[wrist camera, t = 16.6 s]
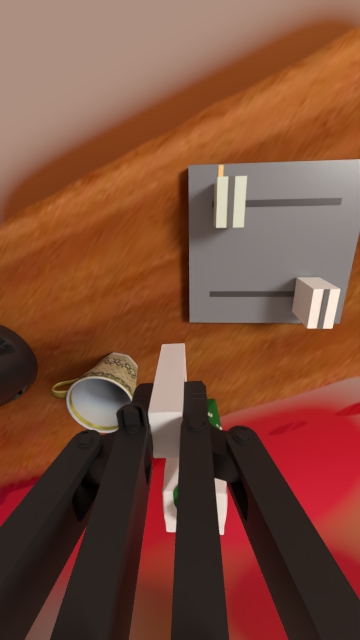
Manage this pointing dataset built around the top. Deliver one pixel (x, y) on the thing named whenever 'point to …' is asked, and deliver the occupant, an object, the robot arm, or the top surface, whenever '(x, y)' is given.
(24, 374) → the robot arm
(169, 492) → the milk carton
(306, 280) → the block
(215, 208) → the fader
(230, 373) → the top surface
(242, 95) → the top surface
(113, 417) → the ceramic cup
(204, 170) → the console
